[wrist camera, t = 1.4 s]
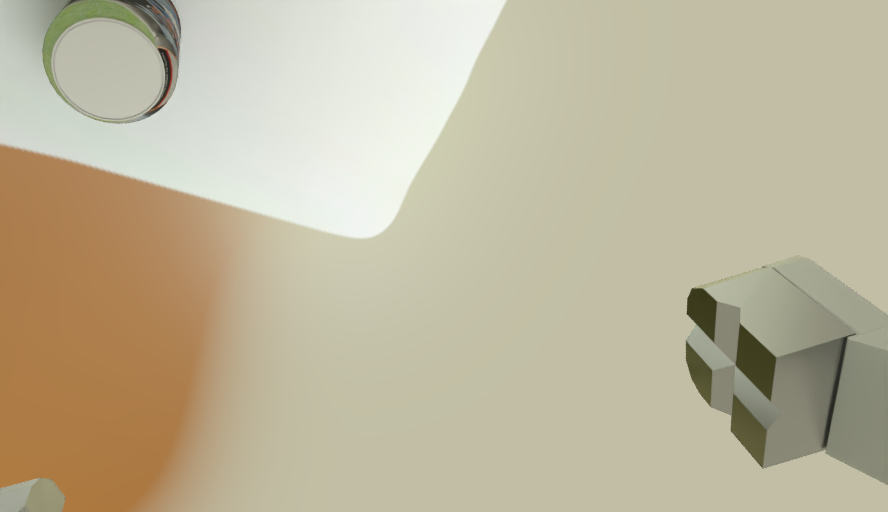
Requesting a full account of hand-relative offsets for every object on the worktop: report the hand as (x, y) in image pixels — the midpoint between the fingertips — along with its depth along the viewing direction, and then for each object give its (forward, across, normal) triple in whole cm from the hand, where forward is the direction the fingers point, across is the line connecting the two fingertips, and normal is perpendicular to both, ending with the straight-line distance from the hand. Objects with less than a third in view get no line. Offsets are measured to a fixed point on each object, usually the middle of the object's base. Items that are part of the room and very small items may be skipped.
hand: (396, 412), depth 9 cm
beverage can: (+41, +10, +1) cm, 42 cm away
